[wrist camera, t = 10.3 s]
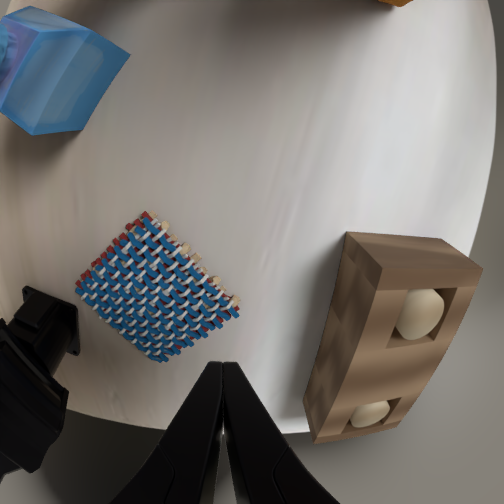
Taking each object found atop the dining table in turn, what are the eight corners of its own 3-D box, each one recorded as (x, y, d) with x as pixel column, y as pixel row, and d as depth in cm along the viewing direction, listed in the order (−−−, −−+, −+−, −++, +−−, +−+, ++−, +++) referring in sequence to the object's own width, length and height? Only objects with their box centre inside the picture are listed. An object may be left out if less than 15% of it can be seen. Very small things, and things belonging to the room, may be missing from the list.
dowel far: (363, 384, 28) (380, 423, 23) (332, 388, 28) (346, 430, 23) (375, 360, 27) (396, 400, 22) (341, 364, 26) (359, 408, 21)
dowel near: (400, 298, 24) (432, 336, 18) (363, 299, 23) (392, 342, 18) (412, 258, 22) (451, 293, 17) (375, 257, 22) (411, 295, 16)
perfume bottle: (82, 129, 16) (-47, 152, 5) (33, 96, 14) (-86, 104, 3) (130, 55, 14) (25, -6, 3) (74, 27, 12) (-31, -17, 2)
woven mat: (153, 199, 19) (145, 206, 17) (245, 298, 23) (247, 313, 21) (76, 278, 21) (65, 290, 19) (159, 355, 25) (156, 370, 23)
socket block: (379, 390, 30) (396, 427, 24) (302, 400, 29) (313, 444, 23) (441, 238, 22) (483, 268, 16) (346, 231, 21) (382, 268, 15)
